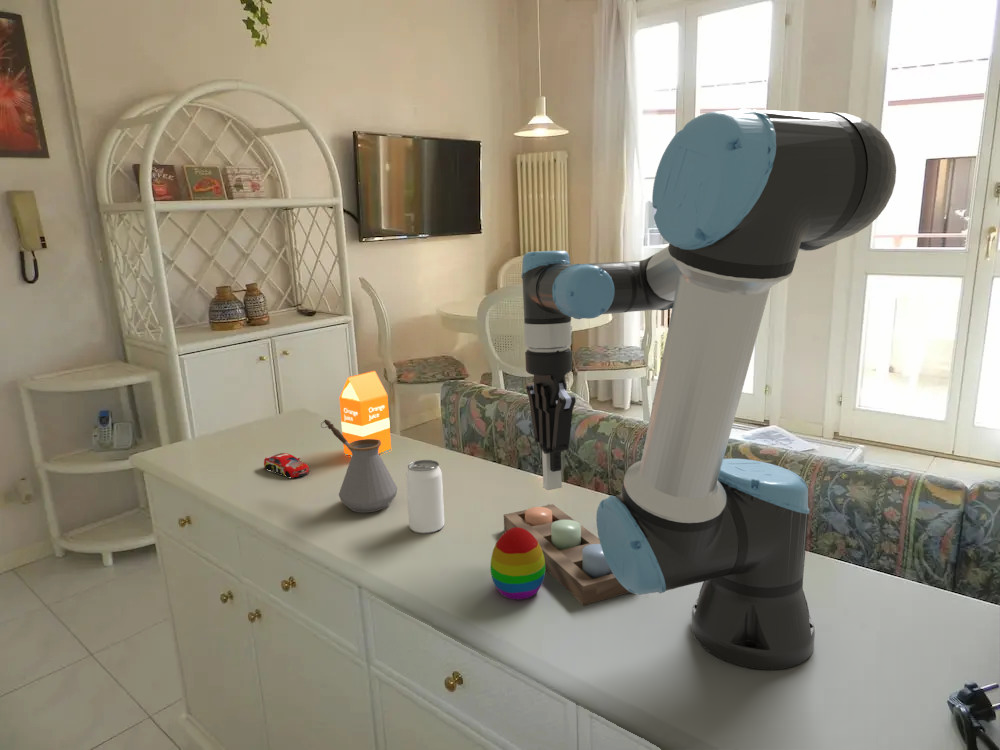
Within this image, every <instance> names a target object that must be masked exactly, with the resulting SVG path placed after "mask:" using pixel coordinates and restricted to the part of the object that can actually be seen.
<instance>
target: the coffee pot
mask: <svg viewBox="0 0 1000 750" xmlns="http://www.w3.org/2000/svg"><path fill="white" fill-rule="evenodd" d="M323 424H325V425H326V426H323ZM320 427H321V428H322V429H326V428H328V429H329V430H331V432H332V434H333V435H334V436H335V437H336V438H337V439H338V440H339V441H340V442H341V443H343V444H345V445H346V446H347V447H348V449H349V450H350V451H351V452H352V457H350V461H349V464H348V466H347V469H346V471H345V472H346V473H345V475H344V477H343V480H342V484H341V486H340V490H339V493H338V496H339V499H340V501H341V502H342V504H344V505H345V506H346V507H347V508H349V509H350V510H351V511H353V512H356V513H372V512H377V511H380V510H383V509H385V508H387V507H388V506H389V504H390V503H392V501H393V500H394V499H395V497H396V495H397V492H398V486H397V485H396V482H395V481H394V479H393V477H392V475H391V474H390V471H389V470H388V467H387V466H386V464H385V462H384V460H383V459H382V457H381V455H379V453H378V450H379V446H380V445H381V441H380V440H377V439H362V440H357V441H353V442H351V443H350V444H349V443H348V441H347V440H346V439H345V438H344V436H343V433H341V431H340V430H339V429H337V428H336V427H335V426H334V423H331V420H328V419H324V420H323V421H322V422H321V423H320Z"/></svg>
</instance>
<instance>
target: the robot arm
mask: <svg viewBox="0 0 1000 750" xmlns="http://www.w3.org/2000/svg"><path fill="white" fill-rule="evenodd" d="M896 178H897V166H896V159H895V154H894V151H893V149H892V147H891V145H890V143H889V141H888V139H887V138H886V137H885V135H884V134H883V132H882V131H880V130H878V128H877V127H876V126H874V125H873V124H872V123H871V122H869V121H867V120H865V119H863V118H861V117H859V116H857V115H853V114H849V113H846V112H832V111H831V112H829V111H824V112H808V111H805V112H804V111H792V110H791V111H787V110H786V111H785V110H771V109H769V110H768V109H755V108H751V109H750V108H738V109H734V110H733V109H732V110H718V111H709V112H705V113H703V114H700V115H698V116H696V117H694V118H693V119H691V120H690V121H688V122H687V123H686V124H685V125H684V127H683V128H682V129H680V130H679V131H677V132H676V134H675V135H674V136H673V138H671V140H670V142H669V144H668V145H667V146H666V147H665V150H664V152H663V154H662V156H661V158H660V160H659V164H658V166H657V169H656V172H655V177H654V181H653V187H652V197H651V198H652V199H651V200H652V201H651V202H652V207H653V209H655V210H656V212H655V214H654V215H653V219H654V222H655V226H656V228H657V230H658V233H659V235H660V236H661V237H662V239H664V241H666V242H667V243H668V246H665V247H664V248H662V249H661V250H660V251H658V252H655V254H652V255H651V256H649V257H647V258H646V259H642V260H630V261H617V262H595V263H594V262H592V263H575V264H574V263H572V264H571V259H570V258H571V257H570V254H569V253H568V252H567V250H543V251H541V250H540V251H539V250H538V251H528V252H526V253H524V254H523V256H522V263H521V265H522V267H521V268H522V271H521V274H520V275H521V279H522V295H523V296H522V297H523V298H522V299H523V300H522V301H523V318H524V319H523V321H524V322H523V331H524V332H523V333H524V334H523V335H524V337H523V339H524V346H525V348H528V349H526V351H525V352H524V354H525V355H524V359H525V371H526V372H527V374H530V375H532V376H533V377H532V382H533V383H532V384H527V385H526V386H525V389H526V394H527V396H528V399H529V400H528V401H529V406H530V408H529V409H530V415H531V421H532V429H533V436H534V441H535V443H539V447H540V449H541V452H542V453H541V455H542V457H541V458H542V460H541V461H542V483H543V484H542V485H543V487H542V488H543V489H545V490H546V491H551V490H557V489H561V488H563V485H562V484H563V483H562V482H563V481H562V452H564V451H568V450H569V447H570V440H571V429H572V421H573V420H572V419H573V412H574V411H573V409H574V407H575V404H576V402H577V401H576V400H577V399H576V396H575V395H569V393H568V391H567V388H568V386H567V381H566V375H567V374H568V373H569V374H570V372H572V370H573V350H572V349H571V348H569V347H570V346H571V345H572V331H573V326H572V318H573V319H577V320H582V319H595V318H598V317H600V316H602V315H609V314H610V315H612V314H623V313H630V312H633V313H634V312H644V311H667V310H671V313H670V317H669V324H668V327H667V333H666V338H665V342H664V347H663V353H662V357H661V362H660V367H659V372H658V377H657V383H656V388H655V393H654V397H653V401H652V407H651V412H650V415H649V416H650V417H649V422H648V426H647V432H646V436H645V441H644V446H643V452H642V454H641V455H642V456H641V460H639V461H637V462H636V461H635V463H632V465H630V466H629V467H628V469H627V470H626V472H625V473H624V477H623V482H622V486H621V487H622V488H621V492H620V494H619V495H616V496H615V495H610V496H608V497H607V498H605V499H603V500H601V501H600V502H599V504H598V506H597V509H596V519H595V520H596V529H597V537H598V538H599V540H600V544H601V547H602V550H603V553H604V556H605V559H606V561H607V563H608V565H609V567H610V569H611V571H612V573H613V574H614V576H615V577H616V579H617V580H618V582H619V583H620V584H621V585H622V586H623V587H624V588H625V589H626V590H628V591H630V592H629V593H632V594H635V595H640V596H641V595H649V594H655V593H659V594H662V593H665V592H666V591H670V590H675V589H679V588H683V587H686V586H690V585H694V584H698V583H702V584H701V587H700V590H699V592H698V597H697V599H696V600H695V602H694V603H693V605H692V606H693V607H692V609H691V631H692V635H693V636H694V638H695V639H696V641H697V642H698V643H699V645H701V646H702V647H703V648H704V649H705V650H706V651H708V652H709V653H711V654H713V656H716V657H718V658H719V659H722V660H724V661H726V662H728V663H732V664H735V665H737V666H742V667H745V668H750V669H759V670H782V669H788V668H792V667H795V666H798V665H801V664H803V663H804V662H806V661H807V660H808V659H809V658H810V657H811V656H812V655H813V651H814V649H815V637H816V636H815V635H816V631H815V625H814V621H813V619H812V617H811V615H810V611H809V605H808V601H807V598H806V595H805V591H804V570H805V560H806V547H807V535H808V534H807V533H808V520H809V514H810V508H809V488H808V485H807V484H808V483H806V482H805V480H804V478H803V477H801V476H800V475H798V474H797V473H796V472H794V471H792V470H790V469H787V468H786V467H783V466H779V465H776V464H773V463H769V462H765V461H761V460H760V461H759V460H754V459H748V458H747V459H746V458H725V455H726V451H727V447H728V443H729V439H730V437H731V432H732V429H733V425H734V421H735V419H736V414H737V411H738V407H739V403H740V399H741V395H742V392H743V388H744V385H745V383H746V382H745V380H746V378H747V374H748V370H749V367H750V362H751V360H752V356H753V352H754V348H755V345H756V342H757V341H756V340H757V337H758V334H759V330H760V326H761V323H762V319H763V316H764V312H765V309H766V308H765V307H766V304H767V300H768V297H769V295H770V294H769V293H770V290H771V288H772V287H774V286H775V285H777V284H778V283H781V282H782V281H784V280H786V279H788V278H789V277H790V276H792V275H793V271H794V268H795V265H796V260H797V258H798V254H799V251H801V252H811V251H816V250H819V249H822V248H824V247H826V246H828V245H831V244H833V243H836V242H838V241H841V240H843V239H847V238H849V237H851V236H853V235H855V234H858V233H859V232H860V231H862V230H864V229H865V228H867V227H869V226H870V225H871V224H872V223H873V222H874V221H875V220H877V219H878V217H879V216H880V215H881V214H882V212H883V211H884V210H885V208H886V206H887V205H888V203H889V201H890V199H891V197H892V195H893V192H894V189H895V185H896Z"/></svg>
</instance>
